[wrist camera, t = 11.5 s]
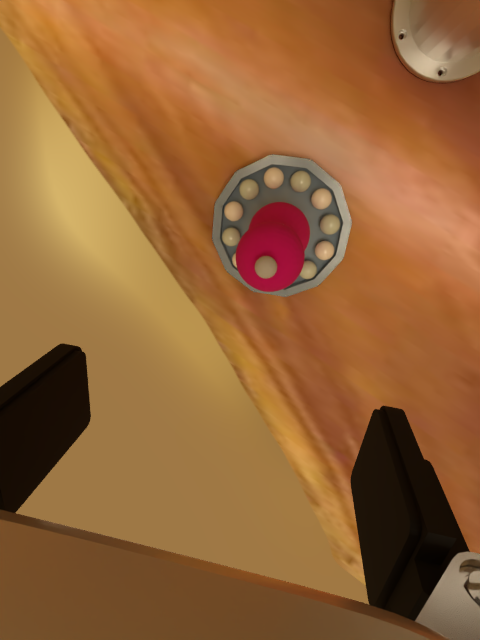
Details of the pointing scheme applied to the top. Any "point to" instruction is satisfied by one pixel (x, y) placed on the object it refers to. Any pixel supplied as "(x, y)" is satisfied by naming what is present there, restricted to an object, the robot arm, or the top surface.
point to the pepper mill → (273, 247)
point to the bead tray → (294, 188)
